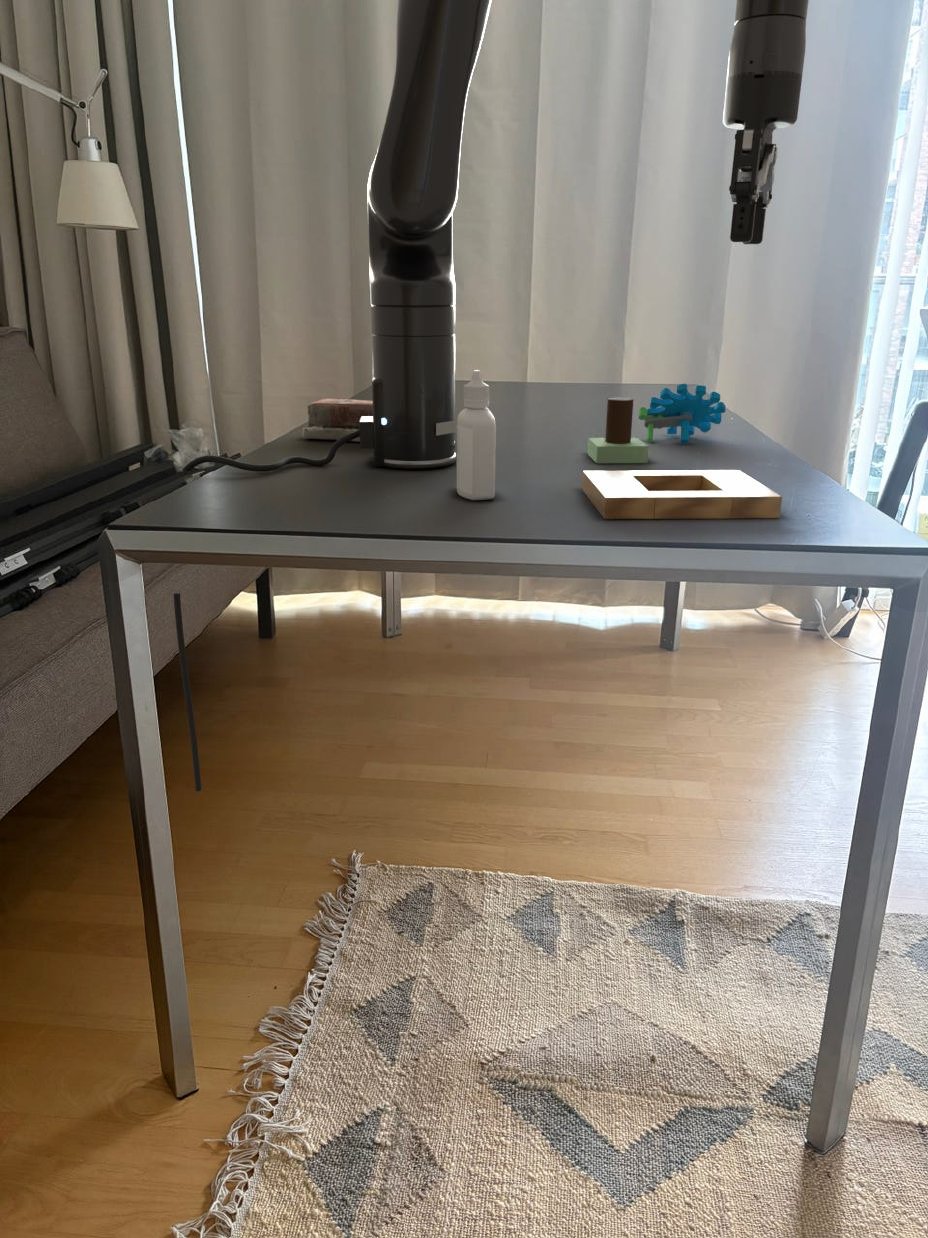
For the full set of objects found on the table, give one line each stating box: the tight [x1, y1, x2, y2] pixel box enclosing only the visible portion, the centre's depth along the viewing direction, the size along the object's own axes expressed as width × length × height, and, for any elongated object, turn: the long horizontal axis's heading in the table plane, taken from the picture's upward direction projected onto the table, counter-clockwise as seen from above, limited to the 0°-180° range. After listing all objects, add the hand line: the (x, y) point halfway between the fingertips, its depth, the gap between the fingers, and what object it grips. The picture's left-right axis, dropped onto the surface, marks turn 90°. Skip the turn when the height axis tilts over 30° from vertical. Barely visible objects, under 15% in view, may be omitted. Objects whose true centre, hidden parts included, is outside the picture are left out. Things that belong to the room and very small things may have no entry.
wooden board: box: [581, 469, 783, 520], centre depth 89 cm, size 16×12×2 cm
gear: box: [638, 383, 726, 445], centre depth 122 cm, size 11×6×10 cm
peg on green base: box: [587, 396, 649, 464], centre depth 110 cm, size 6×6×7 cm
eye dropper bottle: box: [456, 369, 497, 501], centre depth 90 cm, size 4×6×12 cm
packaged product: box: [301, 397, 373, 443], centre depth 124 cm, size 18×5×10 cm
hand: (746, 243), depth 102 cm, fingers open, 8 cm apart
